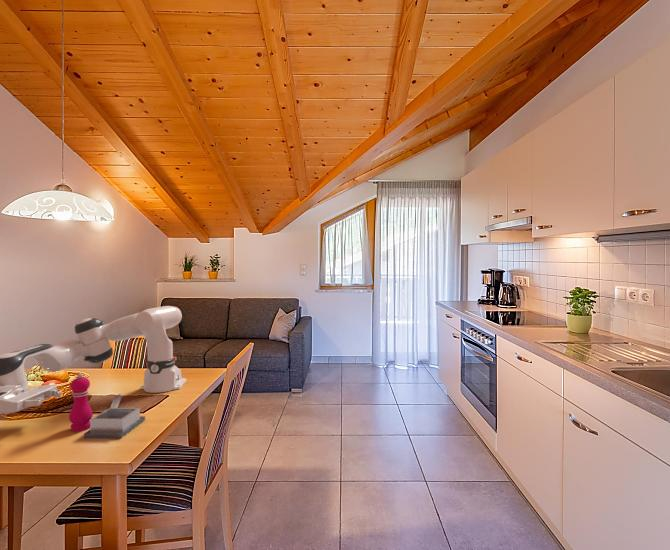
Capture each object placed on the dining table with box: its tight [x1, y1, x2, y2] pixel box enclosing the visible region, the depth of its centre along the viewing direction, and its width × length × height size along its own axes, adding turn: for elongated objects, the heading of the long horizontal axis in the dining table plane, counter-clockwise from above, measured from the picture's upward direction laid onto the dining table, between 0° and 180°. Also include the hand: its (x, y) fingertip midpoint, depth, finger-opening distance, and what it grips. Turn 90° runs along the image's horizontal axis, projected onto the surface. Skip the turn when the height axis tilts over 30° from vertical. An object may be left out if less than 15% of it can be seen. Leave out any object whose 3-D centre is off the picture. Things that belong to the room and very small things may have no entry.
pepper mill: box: [68, 373, 93, 432], centre depth 147 cm, size 7×7×20 cm
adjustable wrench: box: [109, 394, 122, 408], centre depth 165 cm, size 25×6×2 cm, turn 17°
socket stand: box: [83, 407, 146, 439], centre depth 146 cm, size 16×13×6 cm
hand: (50, 398), depth 147 cm, fingers open, 8 cm apart
